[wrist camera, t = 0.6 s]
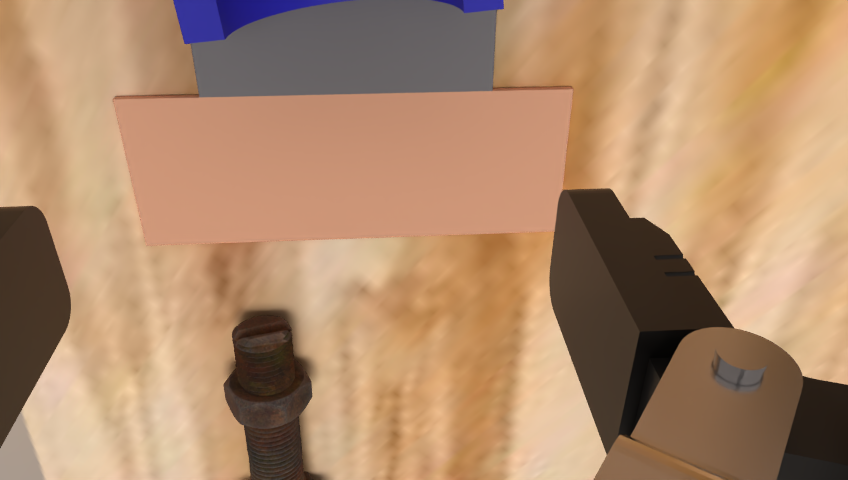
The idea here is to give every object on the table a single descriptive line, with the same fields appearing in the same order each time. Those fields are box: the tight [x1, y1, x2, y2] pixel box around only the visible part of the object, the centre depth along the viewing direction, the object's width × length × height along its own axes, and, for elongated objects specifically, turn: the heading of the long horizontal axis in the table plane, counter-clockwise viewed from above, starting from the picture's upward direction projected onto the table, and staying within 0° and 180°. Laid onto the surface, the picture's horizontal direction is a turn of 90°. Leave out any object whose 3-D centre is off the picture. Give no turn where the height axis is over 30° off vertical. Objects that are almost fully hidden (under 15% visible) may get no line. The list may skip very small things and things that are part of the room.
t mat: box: [113, 0, 573, 246], centre depth 33 cm, size 20×22×1 cm
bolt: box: [224, 316, 313, 480], centre depth 42 cm, size 6×5×15 cm
